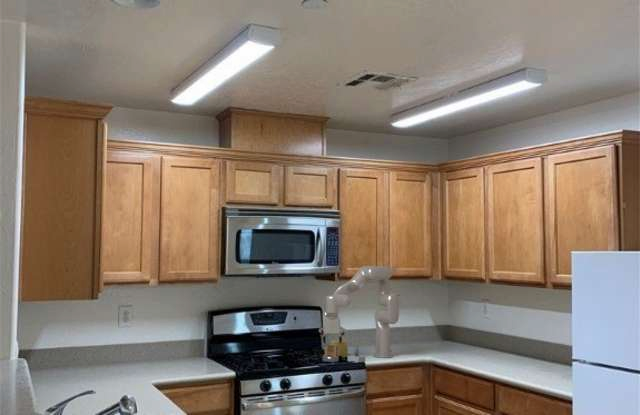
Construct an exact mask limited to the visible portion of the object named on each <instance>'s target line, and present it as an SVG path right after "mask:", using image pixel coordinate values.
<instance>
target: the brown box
mask: <svg viewBox="0 0 640 415" xmlns="http://www.w3.org/2000/svg"><path fill="white" fill-rule="evenodd" d="M324 355H325V356H326V357H336V356H337V346H334V345H332V344H331V345H330V344H328V345H327V344H326V345H325V346H324Z"/></svg>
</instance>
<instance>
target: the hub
mask: <svg viewBox="0 0 640 415" xmlns="http://www.w3.org/2000/svg"><path fill="white" fill-rule="evenodd" d="M339 358H340V357H339V356H338V355H337V356H336V357H326V356H325V354H323V355H322V362H326V363H337V362H339Z"/></svg>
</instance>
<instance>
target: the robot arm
mask: <svg viewBox="0 0 640 415" xmlns="http://www.w3.org/2000/svg"><path fill="white" fill-rule="evenodd" d="M392 276H393V270H392V269H391V267H389V266H386V265H385V266H384V265H382V266H381V265H374V266H372V265H365V266H363V265H362V266H361V267H360V268H359V269H358V271H357V272H356V273H354V275H353V276H352V277H351V279H350V280H348V281H347V282H345V283H344V284H342V285H340V286H339V287H338V288H337V289H336V291H335V292H333V294H331V295H327V296H326V297H325V304H326V305H325V308H326V309H325V311H326V312H325V313H323V316H325V317H324V321H323V323H324V324H323V327H320V328H318V332H319V334H320V335H321V336H322V341H323V342H322V343H324V344H326V341H327V338H326V337H327V336H326V335H338V336H339V337H338V340H339V343H341V342H342V340H343V336H344V335H345V333H346V331H347V329H346V328H344V327H343V326H341V320H340V317H339V307H342V308H346V307H348V306H350V304H351V301H352V299H351V298H350V296H348V295H349V294H353V293H355V292H357V291H359V290H360V289H362V287H364V285H365V284H366V282H367V281H368V280H375V282H376V283H377V284H376V285H377V304H378V305H379V306H381V307H380V308H378V309H377V310H376V311H374V312H375V313H374V320H375V322H374V323H375V352H374V353H373V354H372V356H373V357H375V358H380V359H381V358H385V359H389V358H392V357H393V354H391V353H393V349H391V327H390V325H394V324H397V322H398V321H399V318H400V317H399V316H400V298H399V295H398V294H396V293H394V292H391V291H392V290H391V289H392V288H391V282H390V280H389V279H390V278H392ZM382 307H383V308H382ZM384 307H386V308H384ZM341 331H342V333H341Z"/></svg>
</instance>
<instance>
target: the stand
mask: <svg viewBox="0 0 640 415" xmlns="http://www.w3.org/2000/svg"><path fill="white" fill-rule="evenodd" d="M351 361H354V362H353V363H358V362H359V363H363V362H366V356H365V355H359V346H358V345H357V346H356V345H355V346H354V354H351V355H348V357H347V362H351Z"/></svg>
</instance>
